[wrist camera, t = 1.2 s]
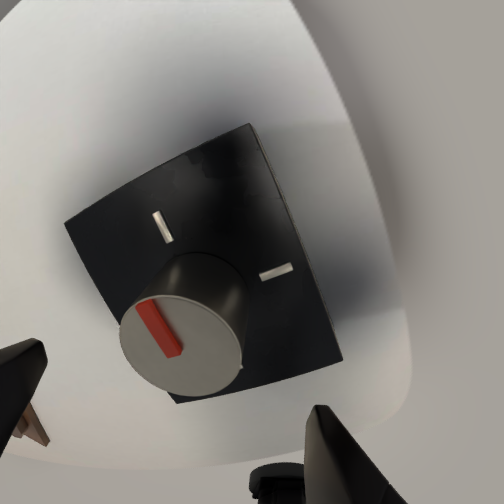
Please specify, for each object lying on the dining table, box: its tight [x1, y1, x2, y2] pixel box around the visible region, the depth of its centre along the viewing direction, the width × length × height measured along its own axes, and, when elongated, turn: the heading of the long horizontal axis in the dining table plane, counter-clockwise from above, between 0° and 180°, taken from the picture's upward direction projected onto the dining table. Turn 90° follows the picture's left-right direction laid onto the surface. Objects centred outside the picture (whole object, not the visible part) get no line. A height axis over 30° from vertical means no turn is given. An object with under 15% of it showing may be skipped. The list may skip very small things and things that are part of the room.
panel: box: [64, 123, 343, 404], centre depth 15 cm, size 12×10×3 cm
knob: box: [119, 253, 250, 396], centre depth 11 cm, size 4×4×4 cm
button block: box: [12, 402, 50, 447], centre depth 23 cm, size 10×9×3 cm
